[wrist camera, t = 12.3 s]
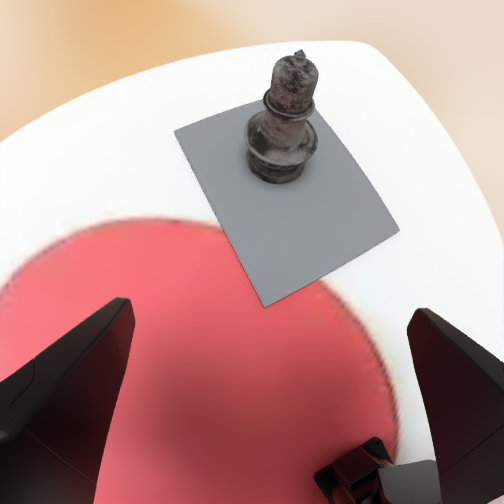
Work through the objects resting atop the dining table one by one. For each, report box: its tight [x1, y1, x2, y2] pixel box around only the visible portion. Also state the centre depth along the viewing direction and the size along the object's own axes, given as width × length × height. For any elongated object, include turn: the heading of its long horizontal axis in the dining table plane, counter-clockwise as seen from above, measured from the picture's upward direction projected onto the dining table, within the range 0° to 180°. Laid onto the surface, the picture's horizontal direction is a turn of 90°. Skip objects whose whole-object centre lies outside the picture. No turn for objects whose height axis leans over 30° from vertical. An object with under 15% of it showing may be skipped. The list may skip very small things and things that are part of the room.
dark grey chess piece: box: [244, 50, 318, 184], centre depth 19 cm, size 6×6×12 cm
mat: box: [174, 99, 400, 308], centre depth 24 cm, size 18×14×1 cm
